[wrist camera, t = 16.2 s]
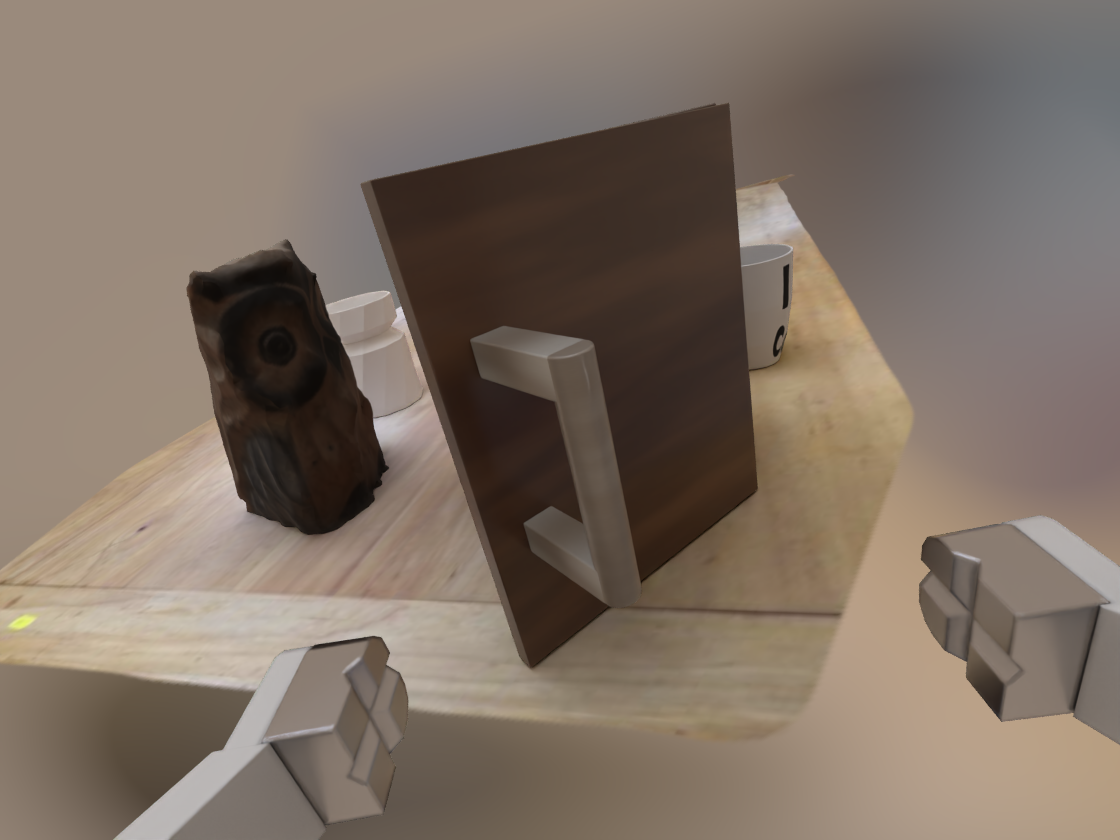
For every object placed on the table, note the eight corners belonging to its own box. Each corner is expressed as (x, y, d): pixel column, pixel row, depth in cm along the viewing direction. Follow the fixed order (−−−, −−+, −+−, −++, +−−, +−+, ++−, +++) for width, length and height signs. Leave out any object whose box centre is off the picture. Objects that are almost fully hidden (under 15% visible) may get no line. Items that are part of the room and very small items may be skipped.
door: (850, 521, 31) (854, 70, 22) (613, 750, 22) (455, 152, 13) (744, 484, 36) (712, 106, 27) (519, 656, 27) (359, 183, 18)
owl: (376, 443, 55) (294, 236, 47) (439, 478, 46) (350, 227, 38) (244, 508, 48) (120, 279, 40) (286, 564, 39) (136, 282, 31)
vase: (349, 403, 68) (310, 308, 63) (418, 380, 70) (386, 287, 65) (351, 427, 61) (307, 321, 56) (429, 401, 63) (394, 296, 58)
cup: (800, 371, 49) (796, 258, 45) (706, 379, 52) (694, 273, 48) (793, 340, 56) (789, 239, 52) (710, 349, 59) (700, 253, 55)
